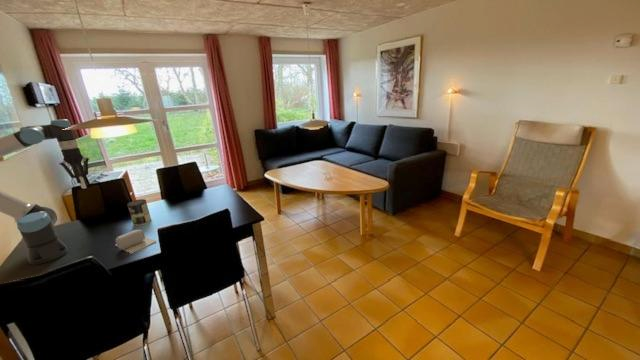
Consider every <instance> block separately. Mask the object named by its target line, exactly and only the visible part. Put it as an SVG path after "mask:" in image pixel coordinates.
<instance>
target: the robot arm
mask: <svg viewBox="0 0 640 360" xmlns="http://www.w3.org/2000/svg"><path fill="white" fill-rule="evenodd" d="M68 127H72V125H71V121H70V120H69V119H65V118H64V119H63V118H62V119H54V120H50V123H49V124H41V125H28V126H22V127H19V130H18V131H16V132H12V133H11V134H7V135H4V136H2V137H0V158H3V157H5V156H8V155H11V154H14V153H15V152H17V151H20V150H22V149H26V148H28V147H31V146H34V145H38V144H40V143H42V142H43V141H45V140H55V139H56V140H57V143H58V146H59V148H60V149H61V150H60V152H61V154H62V157H63V159H62V161H61V162H59V163H58V164H59V165H60V166H61V167H63V169H64V170H65V171H66V173H67V174H68V176H70V178H71V179H75V181H76V183H77V184H79V185H80V187H81V189H84V190H85V189H87V188H88V187H87V185H86V182H87V179H86V178H87V177H86V176H88V175H89V160H90V158H88V157H84V155H83V154H82V152H81V151H80V148H79V147H78V146H79V143H78V141H77V139H76V136H75V133H74V130H62V129H65V128H68ZM82 161H83V166H82ZM67 164H68V165H70V167H71V169H70V168H69V167H68V166H67ZM77 169H78V170H77ZM0 213H2V214H5V215H7V216H9V217H11V218H13V219H14V222H15V223H16V226H17V229H18V232H20V235H21V237H22V239H23V242H24V243H25V246H26V248H27V261H28V263H29V264H30V265H32V266H33V265H34V266H37V265H42V264H46V263H49V262H52V261H54V260H57V259H59V258H61V257H63V256H64V255H65V254H66V253H68V250H69V249H68V247H67V245H66V244H65V243H64V242H63V241H62V240H60V239H59V237H58V234H57V231H56V229H55V225H56V223H57V221H58V215H57V213H56V211H55V210H54V209H53V208H51V207H48V206H40V205H39V204H36V203H27V202H25V201H23V200H21V199H19V198H16V197H15V196H13V195H10V194H8V193H6V192H5V191H3V190H0Z"/></svg>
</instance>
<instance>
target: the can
mask: <svg viewBox="0 0 640 360" xmlns="http://www.w3.org/2000/svg"><path fill="white" fill-rule="evenodd" d="M145 236H146V235H145V233H144V231H143V230H142V229H134V230H132V231H129V232H126V233H124V234H122V235H119V236H116V237H115V238H116V239H115V240H114V241H115V245H116V244H117V246H118V247H117V246H116V247H117V248H118V250H121V251H122V250H123V251H125V250H124V249H126V248H129V247H131V246H133V245H136V244H138V243H140V242H142V241H143V240H144V239H145Z"/></svg>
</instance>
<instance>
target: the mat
mask: <svg viewBox="0 0 640 360" xmlns="http://www.w3.org/2000/svg"><path fill="white" fill-rule="evenodd" d="M155 243H157V240H155V239H152V238H150V237H148V236H146V235H145V239H144V240H143V241H142V242H140V243H138V244H136V245H133V246H131V247H129V248H126V249H124V250H123V251H124V252H127V253H128V252H129V254H130V255H132V253H133V254H135V253H137V252H139V251H141V250H142V249H145V248H147V247H149V246H151V245H153V244H155ZM114 246H115V247H117V248H118V246H117V244H116V243H115V244H114ZM134 252H135V253H134Z"/></svg>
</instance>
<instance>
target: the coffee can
mask: <svg viewBox="0 0 640 360" xmlns="http://www.w3.org/2000/svg"><path fill="white" fill-rule="evenodd" d="M126 206H127V208H128V212H129V214H130V217H131V220H132V224H133V226H143V225H147V224H149V223H150V222H152V218H151V214H150V210H149V206H148V204H147V200H146V199H144V198H139V199H134V200H132V201H129V202H128V203H127V205H126Z"/></svg>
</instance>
